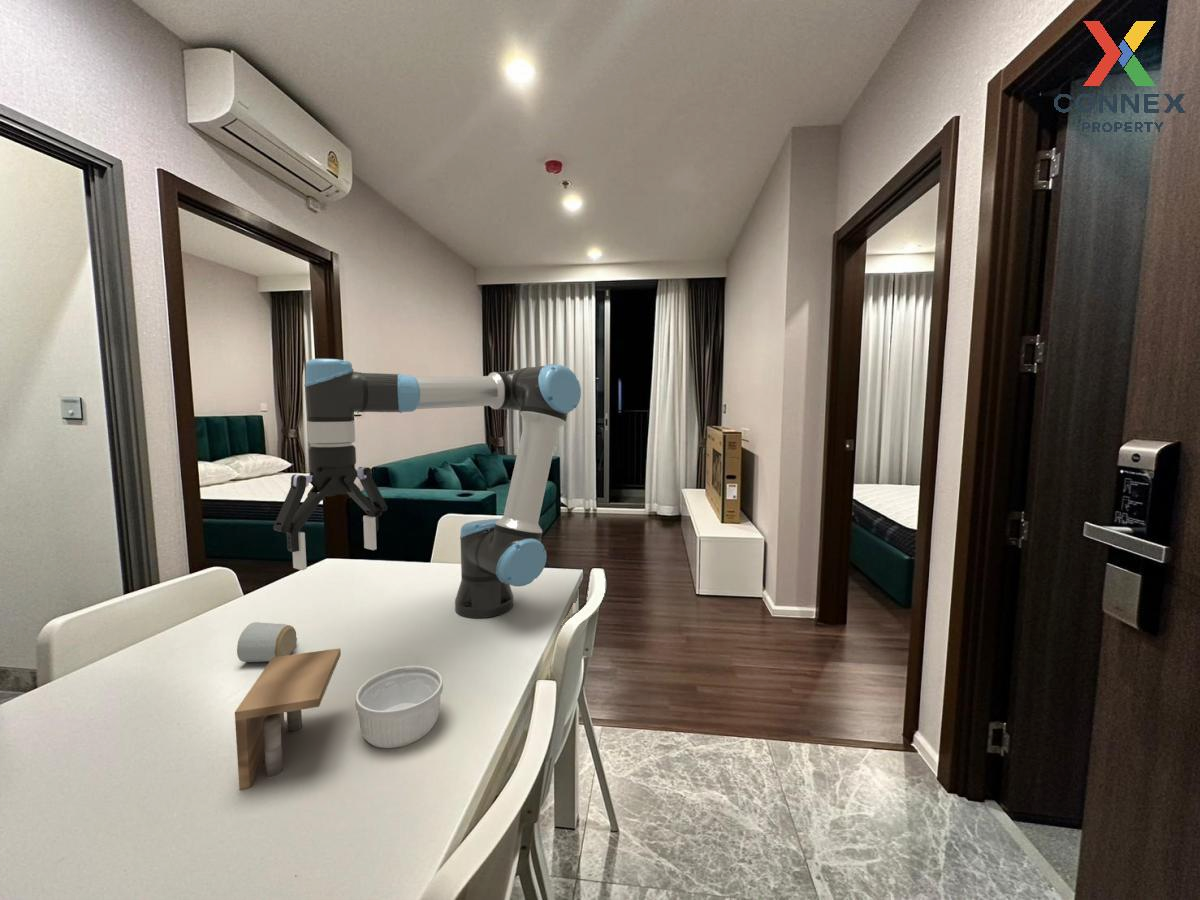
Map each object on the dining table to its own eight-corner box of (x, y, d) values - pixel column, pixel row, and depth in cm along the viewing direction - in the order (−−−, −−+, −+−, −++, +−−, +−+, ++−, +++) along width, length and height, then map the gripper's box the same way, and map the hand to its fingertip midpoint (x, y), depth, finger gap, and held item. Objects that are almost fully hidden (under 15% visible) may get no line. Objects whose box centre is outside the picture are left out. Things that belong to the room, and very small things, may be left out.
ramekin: (459, 711, 83) (459, 673, 82) (405, 764, 70) (404, 719, 70) (398, 696, 87) (397, 659, 86) (337, 743, 74) (335, 701, 74)
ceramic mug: (279, 668, 96) (277, 631, 95) (236, 669, 95) (234, 632, 95) (307, 643, 106) (306, 609, 106) (269, 644, 106) (268, 610, 105)
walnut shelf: (342, 710, 82) (340, 648, 82) (322, 772, 68) (318, 698, 67) (275, 721, 79) (272, 657, 78) (239, 789, 65) (234, 712, 64)
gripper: (379, 440, 100) (383, 539, 102) (244, 448, 78) (252, 574, 80) (403, 441, 96) (407, 544, 98) (269, 450, 74) (276, 582, 76)
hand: (337, 558), depth 89 cm, fingers open, 13 cm apart
